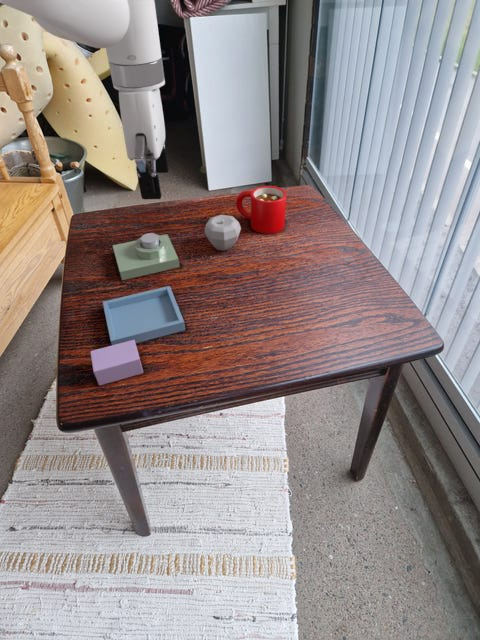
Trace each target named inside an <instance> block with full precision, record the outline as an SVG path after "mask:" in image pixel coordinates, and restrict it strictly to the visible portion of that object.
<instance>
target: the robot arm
mask: <svg viewBox="0 0 480 640" xmlns="http://www.w3.org/2000/svg"><path fill="white" fill-rule="evenodd" d="M155 1H156V0H0V4H2V5H5V6H7V7H9V8H12V9H15V10H17V11H19V12H21V13H24V14H26V15H29V16H31V17H33V19H34V21H35V22H36V23H37V24H38V25H39V27H40V28H42V29H43V30H45V31H46V32H47V33H49V34H50V35H52V36H54V37H57V38H59V39H63V40H66V41H70V42H74V43H78V44H82V45H85V46H88V47H92V48H96V49H105V52H106V57H107V62H108V67H109V71H110V75H111V76H110V77H111V81H112V86H113V89H115V90H117V91H118V102H119V111H120V119H121V125H122V133H123V137H124V145H125V150H126V155H127V159H128V160H130V161H134V163H135V165H136V166H135V171H136V176H137V181H138V186H139V190H140V191H139V192H140V196H141V200H161V198H162V190H161V185H160V179H159V178H160V177H159V174H166V173H169V170H170V169H169V161H168V155H167V149H166V126H165V125H166V124H165V118H164V117H165V116H164V111H163V110H164V109H163V104H162V97H161V91H160V88H162V87H163V86H165V85H166V80H165V79H166V78H165V72H164V65H163V64H164V63H163V57H162V49H161V42H160V35H159V34H160V33H159V27H158V17H157V10H156V2H155ZM147 162H149V163H147Z"/></svg>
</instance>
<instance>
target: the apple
mask: <svg viewBox="0 0 480 640" xmlns="http://www.w3.org/2000/svg"><path fill="white" fill-rule="evenodd" d="M241 230H242V227H241V224H240V222H239V221H238V219H236V218H235V217H234V216H233V215H227V214H219V215H216V216H212V217H210V218H209V219H208V221H207V222H206V224H205V227H204V234H205V236H206V238H207V240H208V241H209V243H210V244H211V245H212V246H213V248H215V249H216V250H217V251H221V252H222V251H223V252H225V251H228V250H231V249H233V248H234V246H235V245H236V242H237V241H238V239H239V236H240V233H241Z"/></svg>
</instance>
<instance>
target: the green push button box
mask: <svg viewBox="0 0 480 640" xmlns="http://www.w3.org/2000/svg"><path fill="white" fill-rule="evenodd" d="M157 235H158V238H159V246H158V247H156V248H153V249H144V248H143V247H142V244H141V237H139V238H136V239H135V240H132V241H127V242H122V243H117V244H112V249H113V253H114V257H115V259H116V260H115V261H116V264H117V268H118V272H119V276H120V279H121V281H126V280H131V279H134V278H139V277H144V276H148V275H152V274H156V273H160V272H165V271H169V270H174V269H178V268H181V267H180V259H179V257H178V254H177V252H176V250H175V248H174V246H173V243H172V241H171V239H170V236H169V235H168V234H167V233H166V234H165V233H164V234H157Z"/></svg>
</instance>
